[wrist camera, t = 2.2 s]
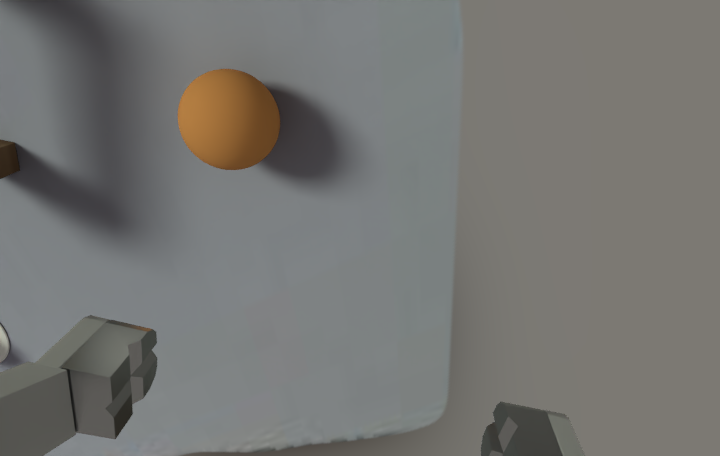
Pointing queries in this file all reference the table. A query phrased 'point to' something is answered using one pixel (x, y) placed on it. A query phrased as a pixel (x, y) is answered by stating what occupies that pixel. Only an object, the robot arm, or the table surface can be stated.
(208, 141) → the ball
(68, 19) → the table surface
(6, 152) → the bridge
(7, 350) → the mug and donut ornament
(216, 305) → the table surface
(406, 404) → the table surface
